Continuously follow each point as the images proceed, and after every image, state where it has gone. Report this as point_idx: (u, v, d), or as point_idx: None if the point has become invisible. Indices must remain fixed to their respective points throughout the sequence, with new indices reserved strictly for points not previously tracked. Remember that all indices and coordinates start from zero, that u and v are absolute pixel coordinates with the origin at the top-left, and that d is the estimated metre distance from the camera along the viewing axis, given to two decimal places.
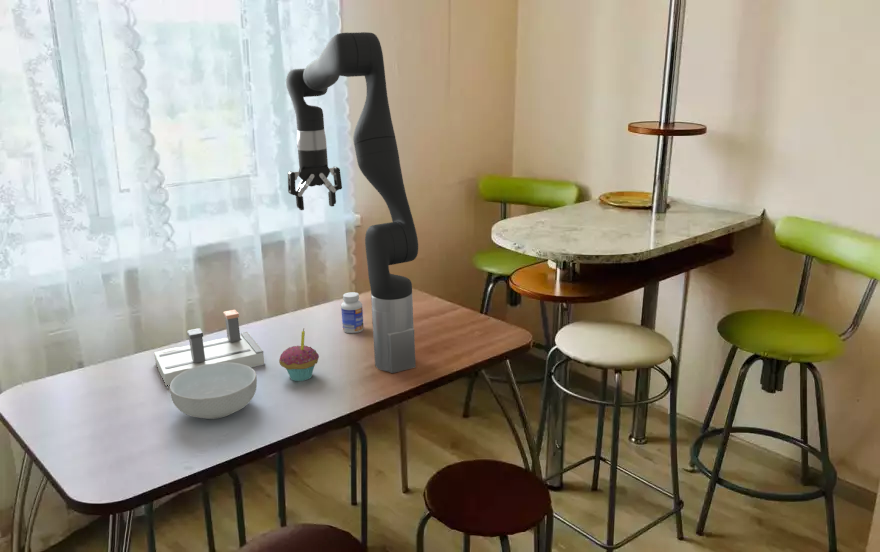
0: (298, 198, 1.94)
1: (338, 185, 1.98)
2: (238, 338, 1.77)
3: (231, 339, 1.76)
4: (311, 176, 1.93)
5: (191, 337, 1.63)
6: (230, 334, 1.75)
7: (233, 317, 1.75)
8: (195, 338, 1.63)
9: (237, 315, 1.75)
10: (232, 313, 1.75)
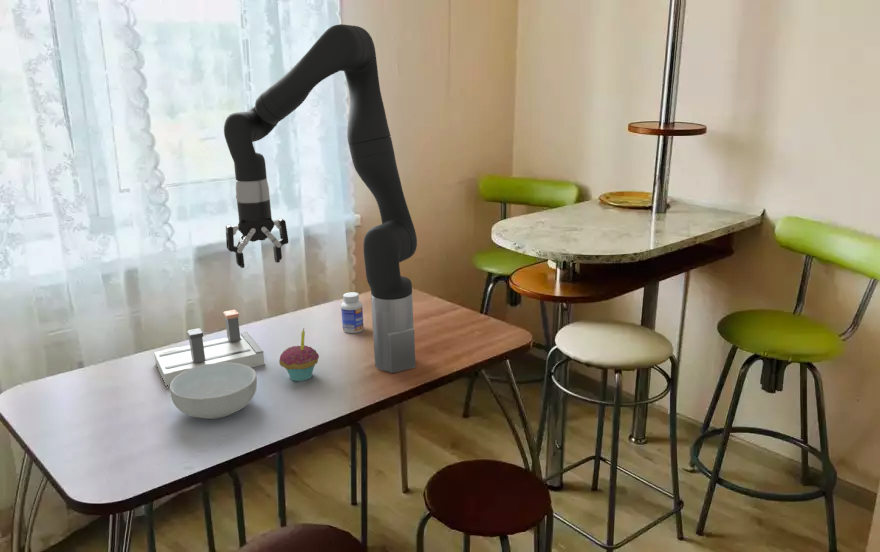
0: (237, 255, 1.73)
1: (284, 239, 1.77)
2: (238, 338, 1.77)
3: (231, 339, 1.76)
4: (251, 231, 1.72)
5: (191, 337, 1.63)
6: (230, 334, 1.75)
7: (233, 317, 1.75)
8: (195, 338, 1.63)
9: (237, 315, 1.75)
10: (232, 313, 1.75)
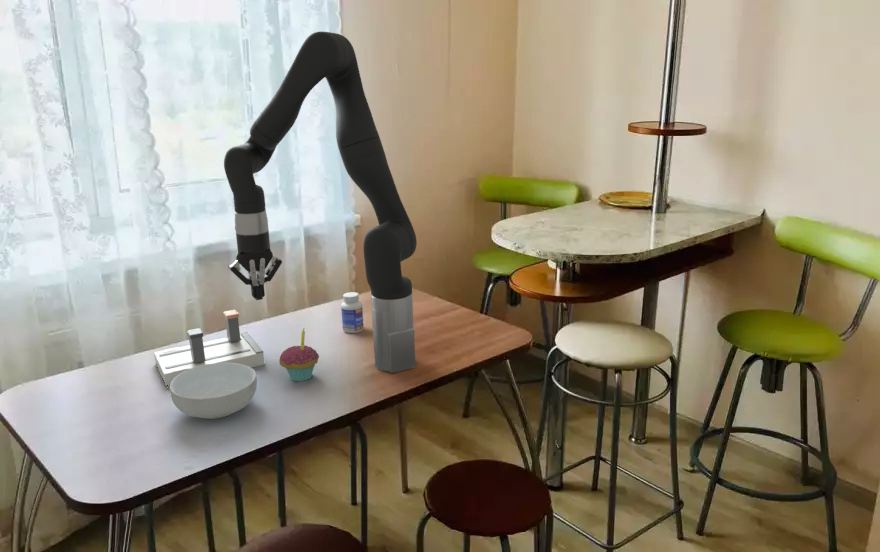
0: (253, 287, 1.76)
1: (267, 276, 1.77)
2: (238, 338, 1.77)
3: (231, 339, 1.76)
4: (251, 263, 1.73)
5: (191, 337, 1.63)
6: (230, 334, 1.75)
7: (233, 317, 1.75)
8: (195, 338, 1.63)
9: (237, 315, 1.75)
10: (232, 313, 1.75)
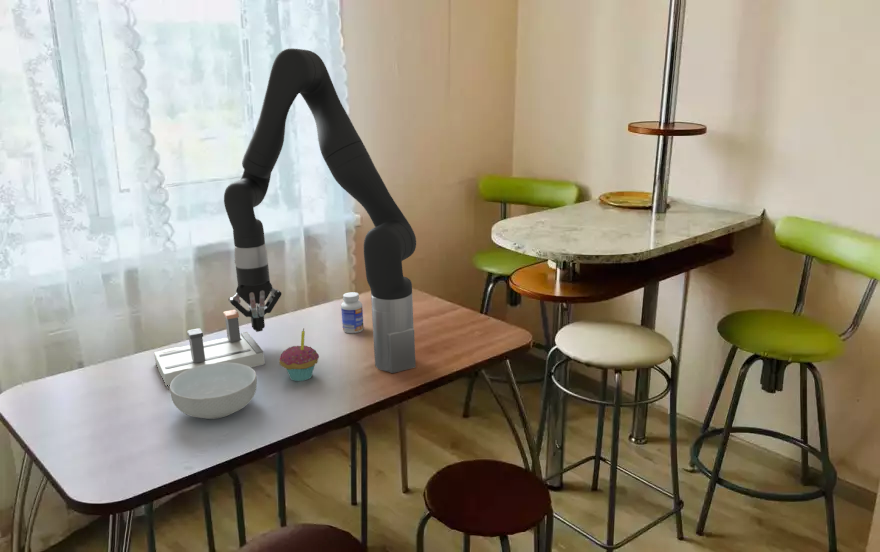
0: (253, 319, 1.78)
1: (267, 308, 1.79)
2: (238, 338, 1.77)
3: (231, 339, 1.76)
4: (251, 296, 1.75)
5: (191, 337, 1.63)
6: (230, 334, 1.75)
7: (233, 317, 1.75)
8: (195, 338, 1.63)
9: (237, 315, 1.75)
10: (232, 313, 1.75)
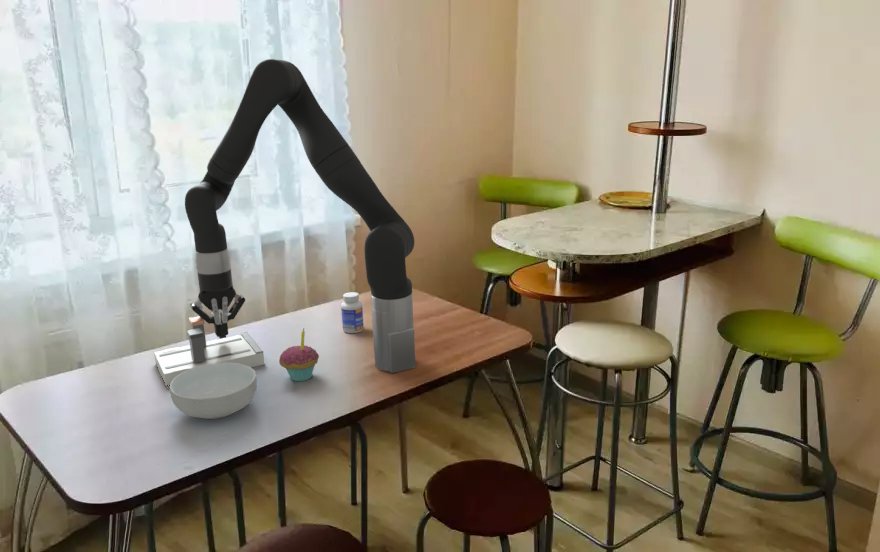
0: (216, 326, 1.74)
1: (230, 315, 1.75)
2: (204, 345, 1.73)
3: None
4: (213, 302, 1.71)
5: (191, 337, 1.63)
6: None
7: (198, 324, 1.71)
8: (195, 338, 1.63)
9: (202, 322, 1.71)
10: (198, 319, 1.72)
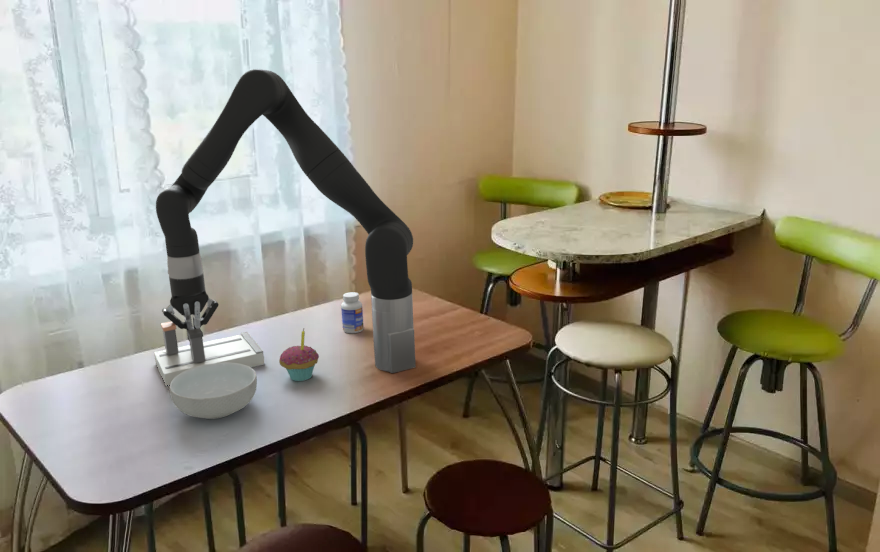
0: None
1: (203, 320, 1.72)
2: (176, 351, 1.70)
3: (168, 352, 1.69)
4: (185, 307, 1.68)
5: (191, 337, 1.63)
6: (167, 347, 1.69)
7: (170, 329, 1.68)
8: (195, 338, 1.63)
9: (174, 327, 1.68)
10: (169, 325, 1.69)
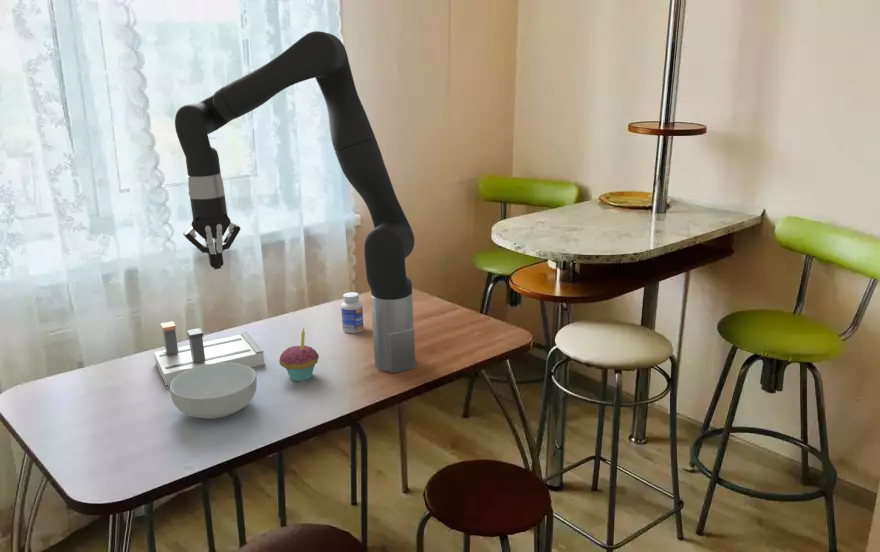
0: (210, 256, 1.68)
1: (225, 244, 1.69)
2: (176, 351, 1.70)
3: (168, 352, 1.69)
4: (207, 229, 1.65)
5: (191, 337, 1.63)
6: (167, 347, 1.69)
7: (170, 329, 1.68)
8: (195, 338, 1.63)
9: (174, 327, 1.68)
10: (169, 325, 1.69)
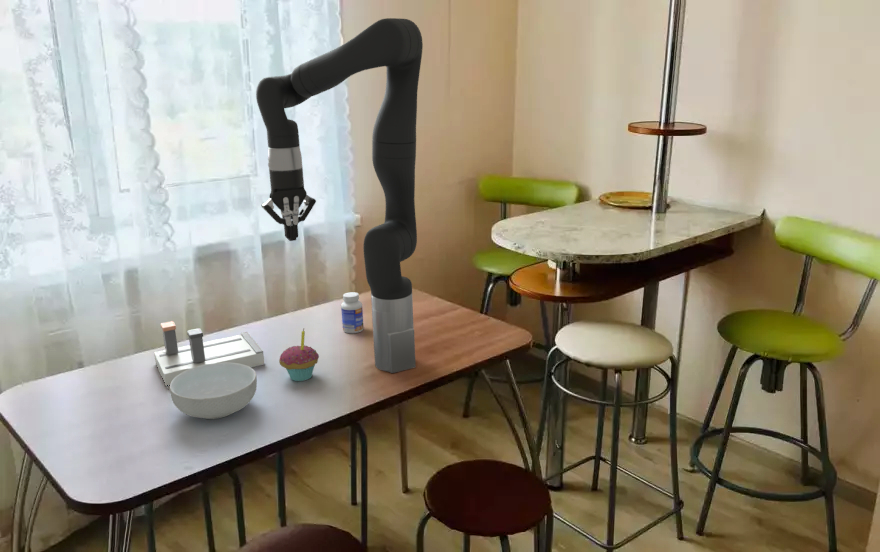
0: (286, 227, 1.71)
1: (301, 216, 1.72)
2: (176, 351, 1.70)
3: (168, 352, 1.69)
4: (285, 201, 1.68)
5: (191, 337, 1.63)
6: (167, 347, 1.69)
7: (170, 329, 1.68)
8: (195, 338, 1.63)
9: (174, 327, 1.68)
10: (169, 325, 1.69)
